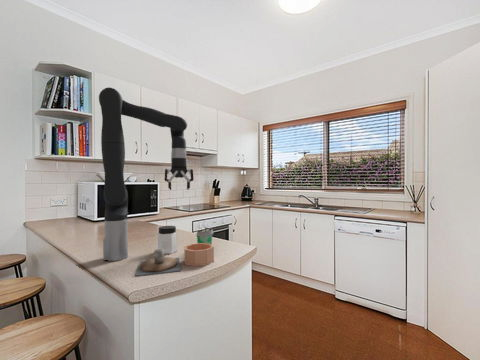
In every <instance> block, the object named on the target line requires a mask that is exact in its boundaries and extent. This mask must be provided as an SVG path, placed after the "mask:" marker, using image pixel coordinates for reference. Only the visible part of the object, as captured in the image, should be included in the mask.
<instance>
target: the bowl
mask: <svg viewBox="0 0 480 360" xmlns="http://www.w3.org/2000/svg"><path fill="white" fill-rule="evenodd" d="M214 251H215V249H214V245H213V243H212V244H206V243H191V244H187V245H185V246H183V252H184V253H183V260H184V265H187V266H192V267H198V266H199V267H200V266H201V267H202V266H207V265H209V264H211V263H213V262H214V261H215V254H214V253H215V252H214Z"/></svg>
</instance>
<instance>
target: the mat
mask: <svg viewBox="0 0 480 360" xmlns="http://www.w3.org/2000/svg"><path fill="white" fill-rule="evenodd" d="M174 258H175V259H176V260H177V266H176V267H174V268H172V269H169V270H166V271H161V272H145V271H142V270H141V269H140V264H141V263H142V262H144V261H145V260H142V261H139V263H138V267H137V269H136V272H135V276H134V277H144V276H150V275H151V276H152V275H153V276H154V275H158V274H159V275H160V274H168V273H177V272H181V271H182V270H181V269H182V267H181V261H180V257H174Z"/></svg>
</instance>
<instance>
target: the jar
mask: <svg viewBox="0 0 480 360" xmlns="http://www.w3.org/2000/svg"><path fill="white" fill-rule="evenodd" d="M157 249H164V255H169V254H173V253H175V252H177V251H178V232H177V227H176V226H175V225H164V226H159V227H158V233H157Z"/></svg>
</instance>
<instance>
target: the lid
mask: <svg viewBox="0 0 480 360" xmlns="http://www.w3.org/2000/svg"><path fill="white" fill-rule="evenodd" d="M153 251H154V255H153V257H154V258H150V259H147V260H143V261H144V262H142V263H141V264H140V269H141V270H142V271H145V272H161V271H166V270H169V269H172V268H174V267H176V266H177V260H176V259H175V258H176V257H168V256H166V257H165V254H164V249H158V248H157V249H154V250H153Z"/></svg>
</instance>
